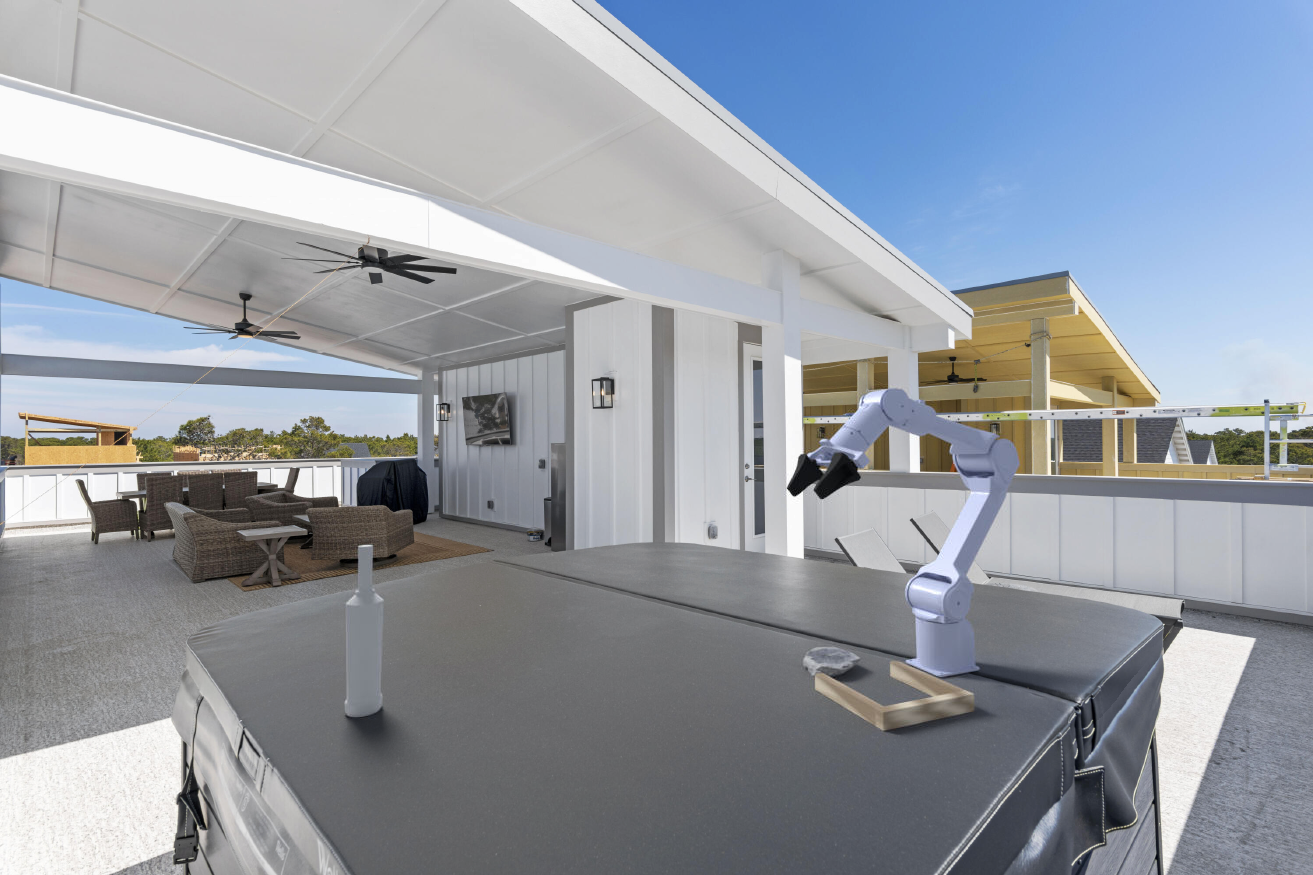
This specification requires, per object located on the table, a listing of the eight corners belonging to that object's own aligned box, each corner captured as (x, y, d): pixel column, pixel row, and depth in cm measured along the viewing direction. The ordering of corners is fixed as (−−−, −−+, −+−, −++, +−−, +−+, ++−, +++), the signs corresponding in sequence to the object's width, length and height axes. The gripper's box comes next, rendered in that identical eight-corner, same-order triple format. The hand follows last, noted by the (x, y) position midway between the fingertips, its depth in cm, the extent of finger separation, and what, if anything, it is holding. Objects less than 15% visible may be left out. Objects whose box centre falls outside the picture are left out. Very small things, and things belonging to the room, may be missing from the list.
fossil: (799, 642, 110) (852, 634, 108) (803, 663, 110) (857, 655, 108) (803, 669, 98) (862, 661, 97) (808, 692, 99) (868, 684, 97)
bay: (897, 675, 100) (896, 660, 100) (974, 710, 85) (974, 693, 85) (815, 689, 94) (814, 674, 94) (883, 730, 79) (882, 712, 79)
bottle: (390, 705, 89) (391, 544, 90) (363, 719, 84) (365, 548, 85) (364, 701, 91) (366, 542, 92) (336, 715, 86) (338, 547, 87)
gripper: (814, 424, 105) (766, 474, 101) (869, 419, 91) (816, 476, 87) (836, 453, 106) (789, 503, 102) (893, 452, 92) (842, 510, 89)
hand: (803, 493), depth 95 cm, fingers open, 7 cm apart
